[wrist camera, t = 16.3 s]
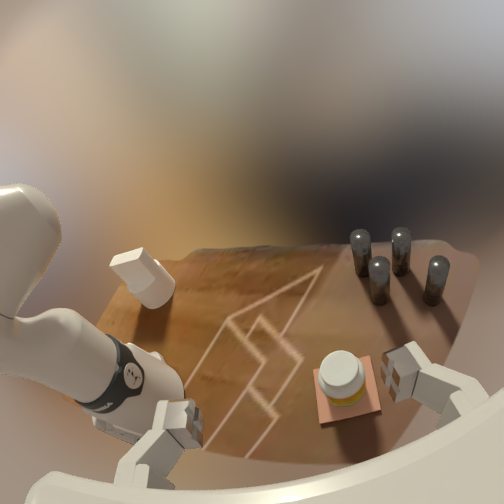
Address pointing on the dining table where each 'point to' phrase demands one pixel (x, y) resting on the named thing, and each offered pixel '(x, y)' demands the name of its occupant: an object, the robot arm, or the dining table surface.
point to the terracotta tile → (362, 407)
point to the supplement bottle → (342, 379)
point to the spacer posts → (395, 266)
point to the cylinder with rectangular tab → (144, 277)
